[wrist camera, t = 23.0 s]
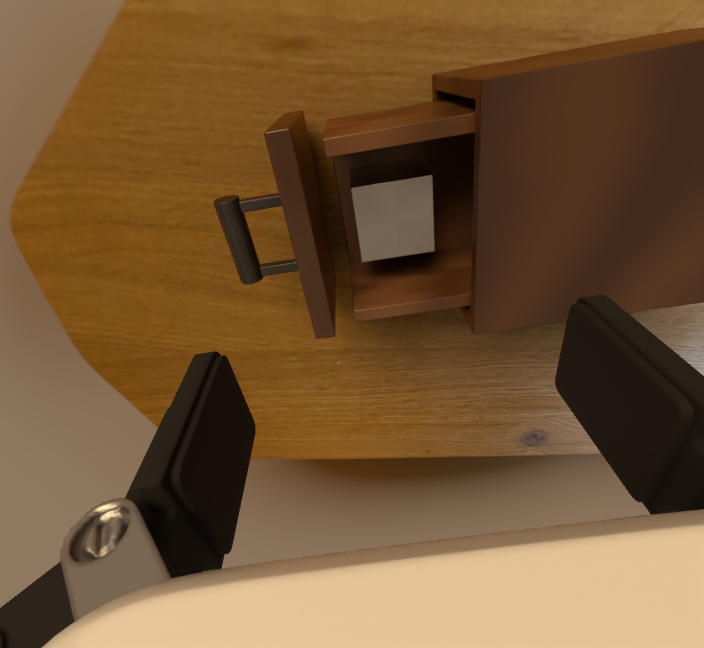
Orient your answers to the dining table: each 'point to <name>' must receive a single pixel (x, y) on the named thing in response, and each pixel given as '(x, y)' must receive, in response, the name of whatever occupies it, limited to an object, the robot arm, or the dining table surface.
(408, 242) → the block
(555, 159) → the cabinet
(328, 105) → the dining table surface
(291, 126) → the drawer
